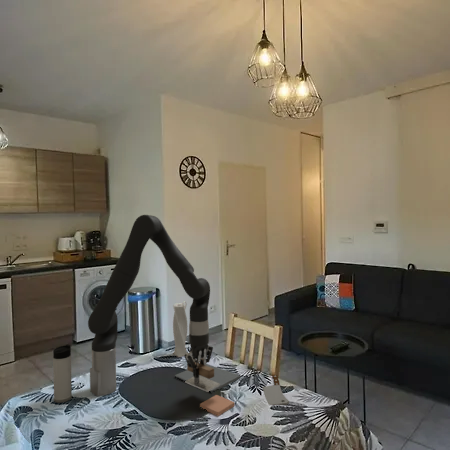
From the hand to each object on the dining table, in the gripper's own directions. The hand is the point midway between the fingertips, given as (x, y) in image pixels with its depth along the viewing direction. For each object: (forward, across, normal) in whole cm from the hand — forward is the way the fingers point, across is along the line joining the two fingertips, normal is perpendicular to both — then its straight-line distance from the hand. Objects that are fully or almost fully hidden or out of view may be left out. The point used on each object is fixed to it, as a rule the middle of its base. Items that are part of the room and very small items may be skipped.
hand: (199, 376), depth 139 cm
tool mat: (+9, -15, -10) cm, 20 cm away
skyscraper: (+9, -26, -39) cm, 48 cm away
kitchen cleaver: (+9, -24, +18) cm, 31 cm away
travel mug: (+9, +34, -40) cm, 54 cm away
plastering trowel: (+3, 0, +2) cm, 3 cm away
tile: (+8, 0, +5) cm, 9 cm away
